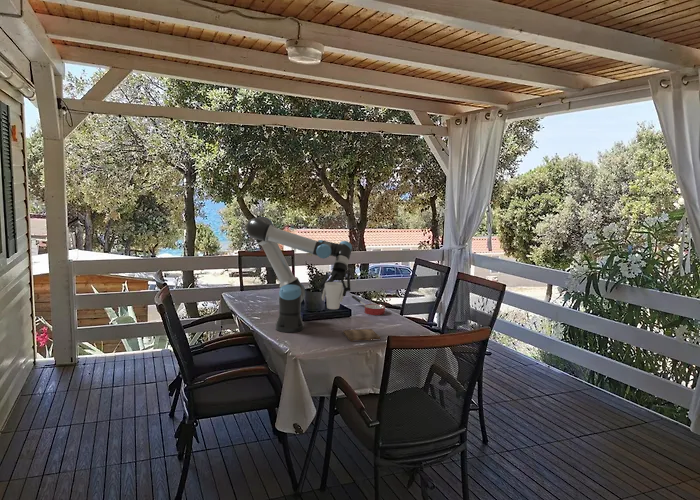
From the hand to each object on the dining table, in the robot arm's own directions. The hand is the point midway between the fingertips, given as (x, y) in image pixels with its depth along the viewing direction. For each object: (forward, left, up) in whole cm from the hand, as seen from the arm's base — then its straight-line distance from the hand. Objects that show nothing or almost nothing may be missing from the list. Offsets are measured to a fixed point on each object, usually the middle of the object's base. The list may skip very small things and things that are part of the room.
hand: (331, 299), depth 254 cm
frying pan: (+35, +53, -19) cm, 66 cm away
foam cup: (+2, +3, -5) cm, 6 cm away
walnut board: (+16, -4, -19) cm, 25 cm away
